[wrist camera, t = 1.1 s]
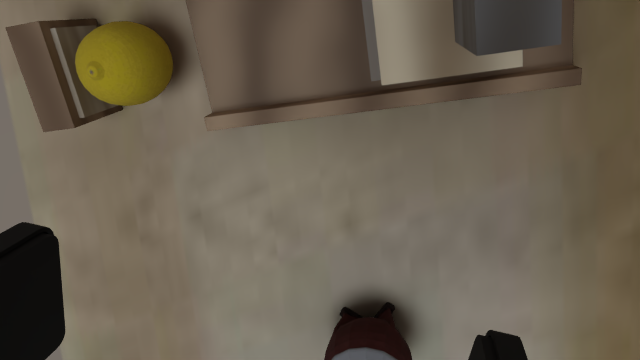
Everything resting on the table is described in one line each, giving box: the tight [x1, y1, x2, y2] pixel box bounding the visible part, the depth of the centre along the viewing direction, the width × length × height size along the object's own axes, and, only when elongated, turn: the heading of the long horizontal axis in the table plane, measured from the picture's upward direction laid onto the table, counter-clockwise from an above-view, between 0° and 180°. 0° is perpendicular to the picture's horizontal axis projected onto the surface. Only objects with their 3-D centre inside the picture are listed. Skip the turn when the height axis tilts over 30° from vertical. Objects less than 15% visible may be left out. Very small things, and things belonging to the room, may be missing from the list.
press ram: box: [362, 0, 562, 85], centre depth 24 cm, size 9×7×12 cm
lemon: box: [75, 21, 173, 106], centre depth 32 cm, size 6×6×8 cm
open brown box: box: [6, 19, 123, 132], centre depth 33 cm, size 3×7×6 cm, turn 9°
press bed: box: [186, 0, 582, 131], centre depth 31 cm, size 25×11×3 cm, turn 99°
